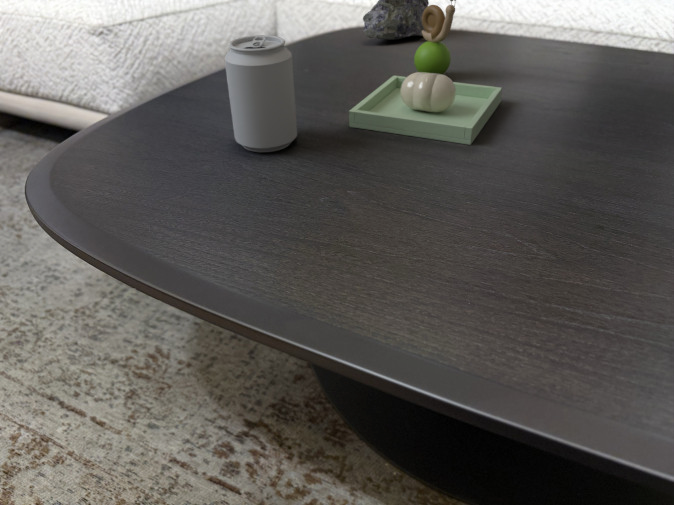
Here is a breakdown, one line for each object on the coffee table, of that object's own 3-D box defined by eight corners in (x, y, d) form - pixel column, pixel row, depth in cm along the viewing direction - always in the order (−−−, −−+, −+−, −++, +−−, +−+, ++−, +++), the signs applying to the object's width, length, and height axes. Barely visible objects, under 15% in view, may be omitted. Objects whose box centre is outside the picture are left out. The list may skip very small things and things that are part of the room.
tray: (500, 102, 82) (502, 87, 81) (470, 145, 70) (472, 128, 69) (393, 89, 88) (393, 75, 87) (349, 126, 76) (348, 110, 75)
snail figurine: (435, 86, 88) (440, -1, 82) (406, 76, 93) (409, -7, 86) (461, 79, 91) (468, -6, 84) (431, 69, 95) (436, -12, 89)
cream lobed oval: (459, 106, 79) (461, 70, 76) (448, 120, 76) (450, 83, 73) (407, 99, 82) (408, 64, 79) (394, 113, 78) (395, 77, 76)
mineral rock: (363, 46, 108) (363, -14, 103) (360, 32, 117) (359, -24, 112) (435, 43, 108) (438, -17, 103) (426, 29, 117) (429, -27, 112)
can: (228, 154, 70) (213, 49, 63) (244, 129, 76) (233, 31, 70) (291, 156, 69) (282, 49, 62) (303, 131, 75) (296, 32, 69)
